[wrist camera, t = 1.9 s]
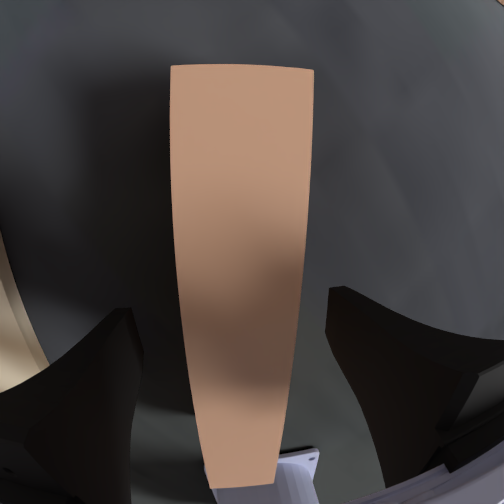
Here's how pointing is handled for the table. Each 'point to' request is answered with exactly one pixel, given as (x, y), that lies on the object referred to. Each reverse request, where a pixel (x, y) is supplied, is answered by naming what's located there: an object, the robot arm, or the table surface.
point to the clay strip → (240, 252)
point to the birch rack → (16, 333)
